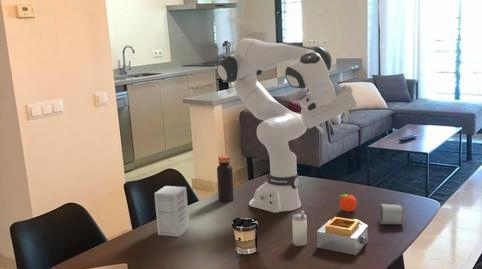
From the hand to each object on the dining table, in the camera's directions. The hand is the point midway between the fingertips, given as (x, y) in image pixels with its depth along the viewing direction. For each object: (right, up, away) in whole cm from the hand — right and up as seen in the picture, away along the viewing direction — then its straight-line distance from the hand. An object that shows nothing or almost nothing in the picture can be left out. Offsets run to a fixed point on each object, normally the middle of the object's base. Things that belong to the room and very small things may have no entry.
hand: (334, 126), depth 195 cm
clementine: (+9, -34, +21) cm, 41 cm away
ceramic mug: (+22, -37, +8) cm, 44 cm away
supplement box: (-60, -40, +8) cm, 73 cm away
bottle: (-41, -32, +41) cm, 66 cm away
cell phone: (+5, -38, +6) cm, 39 cm away
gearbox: (+1, -41, -10) cm, 43 cm away
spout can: (-14, -41, -7) cm, 44 cm away
